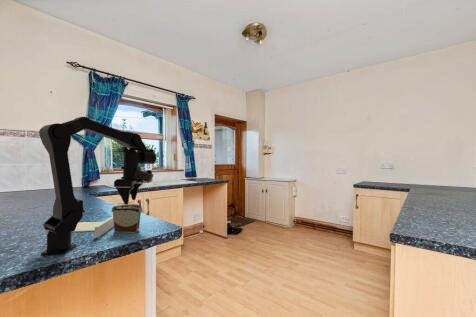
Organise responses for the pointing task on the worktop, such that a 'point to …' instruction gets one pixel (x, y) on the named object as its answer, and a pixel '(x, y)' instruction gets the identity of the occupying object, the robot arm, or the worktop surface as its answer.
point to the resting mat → (86, 226)
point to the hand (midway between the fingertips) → (130, 202)
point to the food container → (126, 218)
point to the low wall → (104, 227)
